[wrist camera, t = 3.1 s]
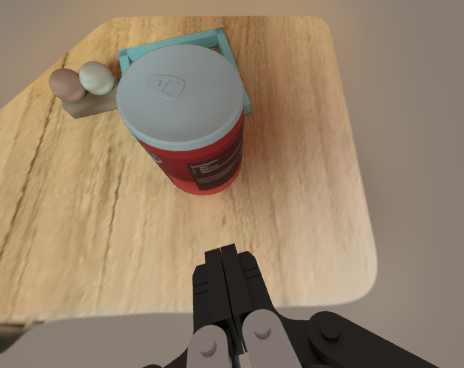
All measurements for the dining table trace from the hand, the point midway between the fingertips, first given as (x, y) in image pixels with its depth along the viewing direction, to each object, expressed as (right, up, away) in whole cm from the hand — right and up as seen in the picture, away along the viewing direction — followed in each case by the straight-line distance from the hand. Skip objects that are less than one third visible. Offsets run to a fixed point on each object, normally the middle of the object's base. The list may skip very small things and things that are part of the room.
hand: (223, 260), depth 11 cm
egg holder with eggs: (-15, +13, +16) cm, 26 cm away
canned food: (-3, +6, +13) cm, 15 cm away
